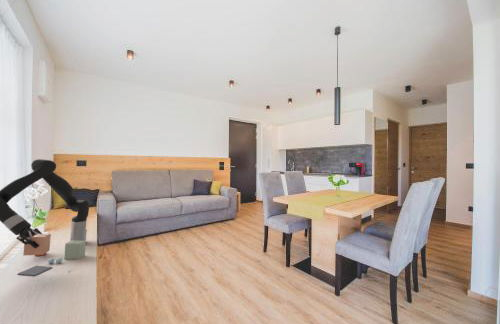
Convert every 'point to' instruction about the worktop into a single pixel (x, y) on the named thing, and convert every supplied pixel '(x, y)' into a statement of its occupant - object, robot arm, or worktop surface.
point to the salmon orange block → (41, 240)
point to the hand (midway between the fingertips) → (41, 245)
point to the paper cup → (43, 233)
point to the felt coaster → (34, 270)
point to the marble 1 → (51, 260)
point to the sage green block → (75, 249)
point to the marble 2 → (59, 260)
